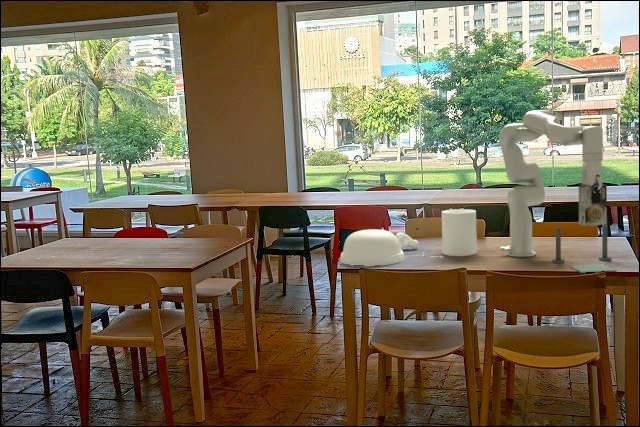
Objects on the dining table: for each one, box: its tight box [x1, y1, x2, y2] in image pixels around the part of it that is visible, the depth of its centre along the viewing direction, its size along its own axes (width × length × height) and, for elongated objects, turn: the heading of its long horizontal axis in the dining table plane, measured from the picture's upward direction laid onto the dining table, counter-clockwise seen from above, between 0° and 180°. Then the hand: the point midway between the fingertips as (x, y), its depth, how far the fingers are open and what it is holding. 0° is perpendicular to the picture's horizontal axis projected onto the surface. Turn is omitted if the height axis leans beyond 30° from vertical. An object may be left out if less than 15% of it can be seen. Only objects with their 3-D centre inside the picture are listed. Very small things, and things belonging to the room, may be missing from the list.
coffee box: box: [578, 183, 608, 227], centre depth 274 cm, size 9×6×16 cm
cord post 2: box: [598, 224, 612, 262], centre depth 293 cm, size 5×5×15 cm
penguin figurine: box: [395, 232, 420, 251], centre depth 341 cm, size 6×8×12 cm
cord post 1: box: [551, 226, 566, 264], centre depth 293 cm, size 5×5×15 cm
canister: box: [441, 208, 478, 257], centre depth 325 cm, size 16×16×20 cm
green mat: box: [569, 263, 617, 274], centre depth 277 cm, size 14×12×1 cm
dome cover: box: [339, 228, 405, 267], centre depth 320 cm, size 32×30×14 cm
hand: (592, 201), depth 274 cm, fingers closed on coffee box, 6 cm apart
